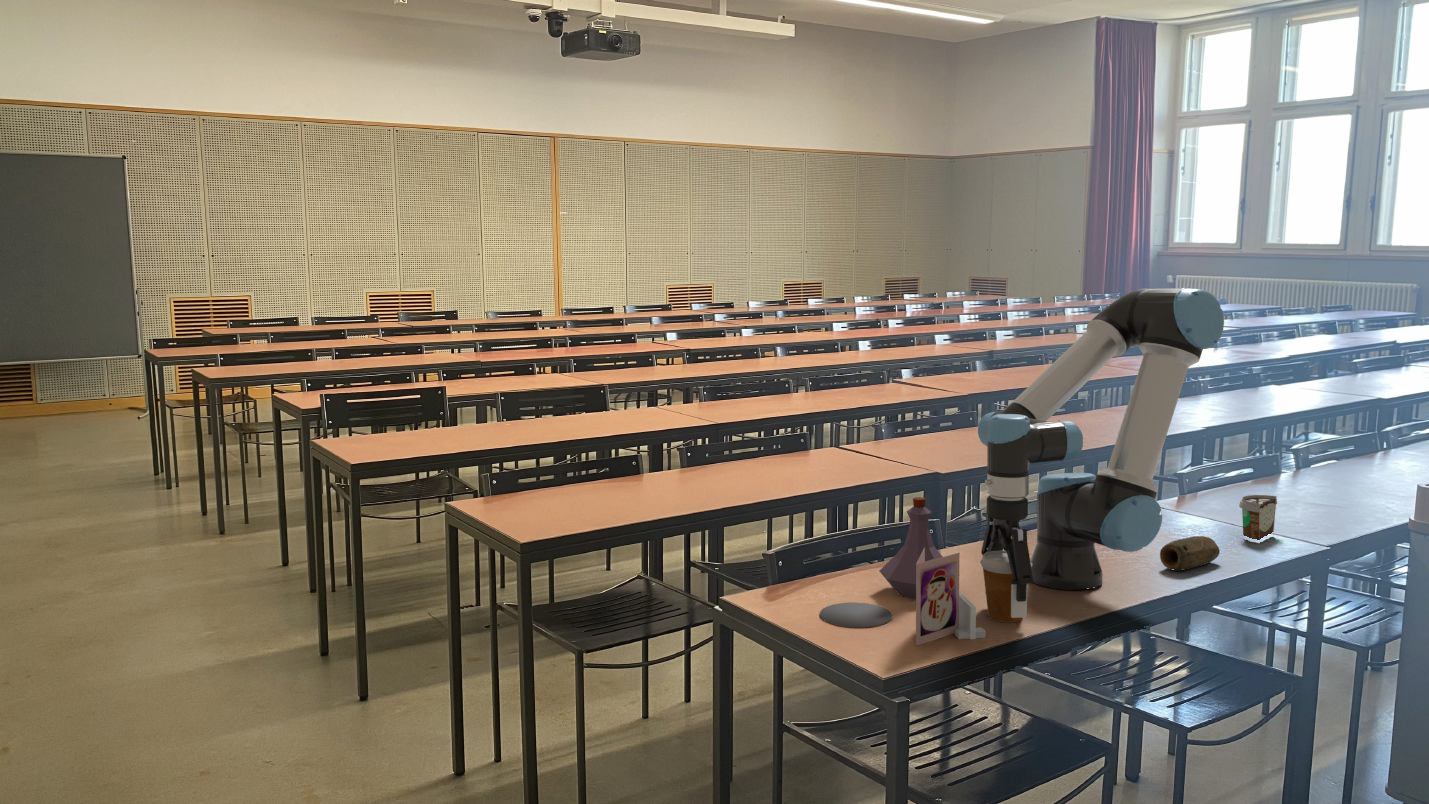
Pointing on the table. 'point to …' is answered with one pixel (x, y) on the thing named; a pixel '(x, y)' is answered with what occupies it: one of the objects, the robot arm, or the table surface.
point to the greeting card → (936, 597)
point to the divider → (968, 620)
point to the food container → (1258, 515)
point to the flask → (911, 552)
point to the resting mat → (856, 615)
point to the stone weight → (1189, 552)
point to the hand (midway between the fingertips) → (1005, 605)
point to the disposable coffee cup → (998, 585)
